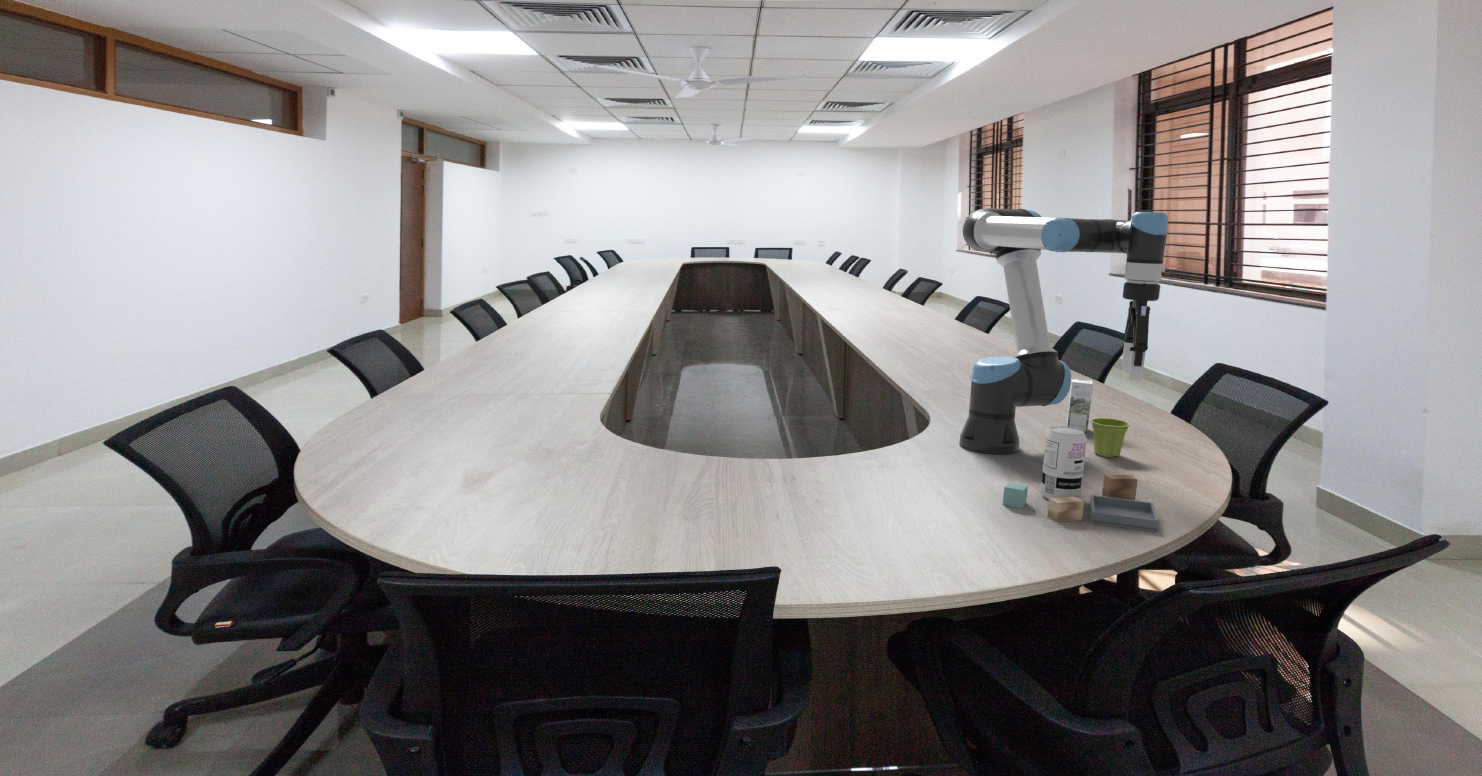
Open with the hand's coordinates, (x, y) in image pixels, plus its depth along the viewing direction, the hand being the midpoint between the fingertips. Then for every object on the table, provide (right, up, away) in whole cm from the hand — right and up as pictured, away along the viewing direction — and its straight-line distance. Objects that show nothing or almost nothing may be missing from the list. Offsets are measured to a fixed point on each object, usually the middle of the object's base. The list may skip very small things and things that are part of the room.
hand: (1131, 375), depth 206 cm
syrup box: (+7, -15, +53) cm, 56 cm away
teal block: (-31, -27, -16) cm, 45 cm away
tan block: (-24, -29, -24) cm, 44 cm away
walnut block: (-7, -27, -10) cm, 30 cm away
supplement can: (-20, -27, -10) cm, 35 cm away
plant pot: (+5, -20, +27) cm, 34 cm away
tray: (-12, -29, -23) cm, 39 cm away
